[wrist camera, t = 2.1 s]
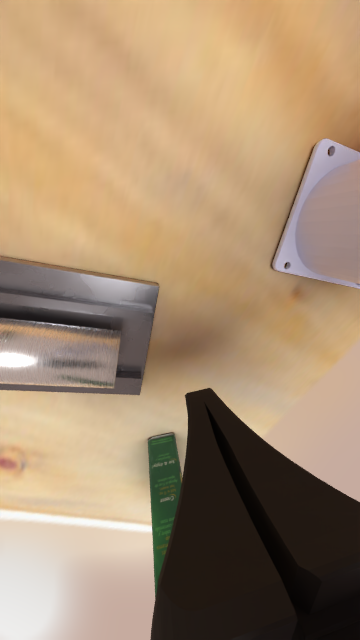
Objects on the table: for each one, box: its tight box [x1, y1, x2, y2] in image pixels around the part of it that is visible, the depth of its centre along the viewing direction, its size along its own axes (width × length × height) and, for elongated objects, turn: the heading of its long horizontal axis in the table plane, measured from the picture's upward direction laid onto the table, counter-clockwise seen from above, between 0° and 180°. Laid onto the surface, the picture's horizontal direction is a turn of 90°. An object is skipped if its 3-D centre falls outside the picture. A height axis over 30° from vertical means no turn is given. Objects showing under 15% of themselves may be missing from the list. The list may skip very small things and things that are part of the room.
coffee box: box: [148, 433, 182, 599], centre depth 16 cm, size 8×3×13 cm, turn 4°
